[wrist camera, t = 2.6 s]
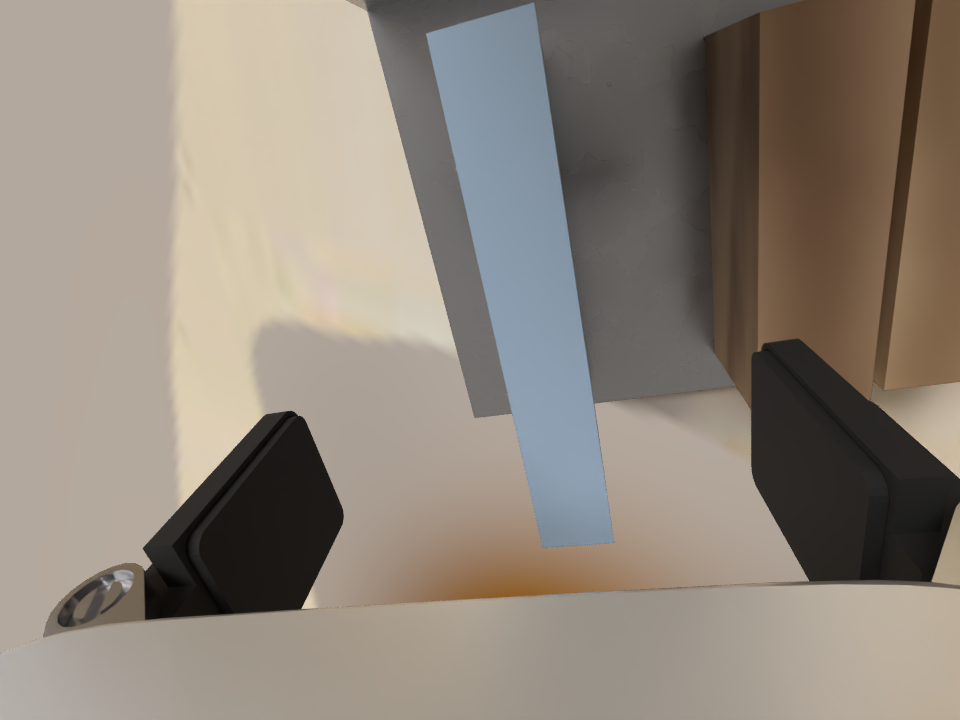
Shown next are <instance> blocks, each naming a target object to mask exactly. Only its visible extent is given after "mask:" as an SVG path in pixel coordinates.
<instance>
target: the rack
mask: <svg viewBox="0 0 960 720" xmlns="http://www.w3.org/2000/svg"><path fill="white" fill-rule="evenodd" d="M347 1H349V2H351V3H353V4H355V5H357V6H359V7H361V8H363V9H365V10H366V11H367V12H368V15H369V19H370V23H371V27H372V31H373V34H374V38H375V42H376V46H377V49H378V53H379V57H380V61H381V65H382V68H383V72H384V76H385V80H386V84H387V87H388V91H389V95H390V99H391V103H392V106H393V110H394V114H395V118H396V122H397V125H398V129H399V133H400V137H401V141H402V144H403V148H404V152H405V156H406V159H407V163H408V167H409V171H410V175H411V178H412V182H413V186H414V190H415V194H416V197H417V201H418V205H419V209H420V213H421V216H422V220H423V224H424V228H425V232H426V235H427V239H428V243H429V247H430V251H431V254H432V258H433V262H434V266H435V269H436V273H437V277H438V281H439V285H440V288H441V292H442V296H443V300H444V304H445V307H446V311H447V315H448V319H449V323H450V326H451V330H452V334H453V338H454V342H455V345H456V349H457V353H458V357H459V361H460V364H461V368H462V372H463V376H464V379H465V383H466V387H467V391H468V394H469V398H470V402H471V406H472V410H473V414H474V417H475V418H479V417H487V416H495V415H503V414H512V411H511V406H510V402H509V398H508V393H507V389H506V384H505V380H504V376H503V371H502V367H501V362H500V358H499V353H498V349H497V345H496V340H495V336H494V331H493V327H492V323H491V318H490V314H489V309H488V305H487V301H486V296H485V292H484V287H483V283H482V279H481V274H480V270H479V265H478V261H477V256H476V252H475V248H474V243H473V239H472V234H471V230H470V226H469V221H468V217H467V212H466V208H465V204H464V199H463V195H462V190H461V186H460V182H459V177H458V173H457V168H456V164H455V159H454V155H453V151H452V146H451V142H450V137H449V133H448V129H447V124H446V120H445V115H444V111H443V107H442V102H441V98H440V93H439V89H438V85H437V80H436V76H435V71H434V67H433V63H432V58H431V54H430V49H429V45H428V40H427V36H426V33H429V32H433V31H436V30H440V29H443V28H447V27H450V26H454V25H457V24H461V23H464V22H468V21H471V20H475V19H478V18H481V17H485V16H488V15H492V14H495V13H499V12H502V11H506V10H509V9H513V8H516V7H520V6H523V5H527V4H530V3H534V4H535V10H536V16H537V22H538V28H539V34H540V40H541V46H542V52H543V59H544V66H545V72H546V79H547V86H548V93H549V100H550V106H551V113H552V120H553V127H554V134H555V140H556V147H557V154H558V161H559V168H560V174H561V181H562V188H563V195H564V201H565V208H566V215H567V222H568V229H569V235H570V242H571V249H572V256H573V263H574V269H575V276H576V283H577V290H578V297H579V303H580V310H581V317H582V324H583V330H584V337H585V344H586V351H587V358H588V364H589V371H590V378H591V385H592V392H593V399H594V403H601V402H610V401H618V400H626V399H634V398H642V397H650V396H658V395H667V394H675V393H683V392H691V391H699V390H707V389H716V388H724V387H732V386H735V384H734V383H733V381H732V380H731V378H730V376H729V375H728V373H727V372H726V370H725V369H724V367H723V366H722V364H721V363H720V361H719V360H718V358H717V357H716V355H715V341H714V309H713V278H712V247H711V216H710V184H709V153H708V122H707V91H706V59H705V36H707V35H709V34H711V33H714V32H716V31H718V30H720V29H723V28H725V27H727V26H729V25H732V24H734V23H736V22H738V21H741V20H743V19H745V18H747V17H750V16H752V15H754V14H756V13H759V12H762V11H765V10H769V9H773V8H777V7H781V6H785V5H788V4H792V3H796V2H800V1H804V0H347Z"/></svg>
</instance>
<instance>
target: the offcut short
mask: <svg viewBox="0 0 960 720" xmlns="http://www.w3.org/2000/svg"><path fill="white" fill-rule="evenodd" d="M873 381H874V382H875V383H876V384H877V385H878V386H879V387H881V388H882V389H883V390H893V389H902V388H910V387H919V386H928V385H936V384H945V383H954V382H960V0H916V1H915V10H914V19H913V28H912V36H911V45H910V54H909V63H908V72H907V81H906V90H905V99H904V107H903V116H902V125H901V134H900V143H899V152H898V161H897V169H896V178H895V187H894V196H893V205H892V214H891V223H890V232H889V240H888V249H887V258H886V267H885V276H884V285H883V294H882V302H881V311H880V320H879V329H878V338H877V347H876V356H875V365H874V373H873Z"/></svg>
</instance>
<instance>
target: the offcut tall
mask: <svg viewBox="0 0 960 720" xmlns="http://www.w3.org/2000/svg"><path fill="white" fill-rule="evenodd" d="M915 1H916V0H804V1H800V2H796V3H792V4H788V5H785V6H781V7H777V8H773V9H769V10H765V11H762V12H759V13H756V14H754V15H752V16H750V17H747V18H745V19H743V20H741V21H738V22H736V23H734V24H732V25H729V26H727V27H725V28H723V29H720V30H718V31H716V32H714V33H711V34H709V35H707V36H705V59H706V91H707V122H708V153H709V184H710V216H711V247H712V278H713V309H714V341H715V355H716V357H717V358H718V360H719V361H720V363H721V364H722V366H723V367H724V369H725V370H726V372H727V373H728V375H729V376H730V378H731V380H732V381H733V383H734V384H735V386H736V387H737V389H738V390H739V392H740V393H741V395H742V396H743V398H744V399H745V401H746V402H747V404H748V405H749V407H750V409H751V358H752V354H753V353H754V352H759V351H761V348H762V345H763V344H764V343H769V342H776V341H783V340H790V339H797V338H798V339H800V340H802V341H803V342H804V343H805V344H806V345H807V346H808V347H809V348H811V349H812V350H813V351H814V352H815V353H816V354H817V355H818V356H819V357H821V358H822V359H823V360H824V361H825V362H826V363H827V364H828V365H830V366H831V367H832V368H833V369H834V370H835V371H836V372H837V373H838V374H840V375H841V376H842V377H843V378H844V379H845V380H846V381H847V382H848V383H850V384H851V385H852V386H853V387H854V388H855V389H856V390H857V391H859V392H860V393H861V394H862V395H863V396H864V397H865V398H866V399H867V400H869V401H870V400H871V391H872V382H873V373H874V365H875V356H876V347H877V338H878V329H879V320H880V311H881V302H882V294H883V285H884V276H885V267H886V258H887V249H888V240H889V232H890V223H891V214H892V205H893V196H894V187H895V178H896V169H897V161H898V152H899V143H900V134H901V125H902V116H903V107H904V99H905V90H906V81H907V72H908V63H909V54H910V45H911V36H912V28H913V19H914V10H915Z"/></svg>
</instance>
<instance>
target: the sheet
mask: <svg viewBox="0 0 960 720" xmlns="http://www.w3.org/2000/svg"><path fill="white" fill-rule="evenodd" d="M426 36H427V40H428V45H429V49H430V54H431V58H432V63H433V67H434V71H435V76H436V80H437V85H438V89H439V93H440V98H441V102H442V107H443V111H444V115H445V120H446V124H447V129H448V133H449V137H450V142H451V146H452V151H453V155H454V159H455V164H456V168H457V173H458V177H459V182H460V186H461V190H462V195H463V199H464V204H465V208H466V212H467V217H468V221H469V226H470V230H471V234H472V239H473V243H474V248H475V252H476V256H477V261H478V265H479V270H480V274H481V279H482V283H483V287H484V292H485V296H486V301H487V305H488V309H489V314H490V318H491V323H492V327H493V331H494V336H495V340H496V345H497V349H498V353H499V358H500V362H501V367H502V371H503V376H504V380H505V384H506V389H507V393H508V398H509V402H510V406H511V411H512V415H513V419H514V424H515V428H516V432H517V437H518V442H519V446H520V450H521V455H522V459H523V464H524V468H525V472H526V477H527V481H528V486H529V490H530V494H531V498H532V503H533V508H534V512H535V516H536V521H537V525H538V530H539V534H540V539H541V543H542V547H543V548H548V547H563V546H578V545H592V544H607V543H614V539H613V531H612V524H611V517H610V511H609V503H608V497H607V489H606V482H605V475H604V469H603V461H602V454H601V448H600V441H599V434H598V427H597V420H596V413H595V406H594V399H593V392H592V385H591V378H590V371H589V364H588V358H587V351H586V344H585V337H584V330H583V324H582V317H581V310H580V303H579V297H578V290H577V283H576V276H575V269H574V263H573V256H572V249H571V242H570V235H569V229H568V222H567V215H566V208H565V201H564V195H563V188H562V181H561V174H560V168H559V161H558V154H557V147H556V140H555V134H554V127H553V120H552V113H551V106H550V100H549V93H548V86H547V79H546V72H545V66H544V59H543V52H542V46H541V40H540V34H539V28H538V22H537V16H536V10H535V4H534V3H530V4H527V5H523V6H520V7H516V8H513V9H509V10H506V11H502V12H499V13H495V14H492V15H488V16H485V17H481V18H478V19H475V20H471V21H468V22H464V23H461V24H457V25H454V26H450V27H447V28H443V29H440V30H436V31H433V32H429V33H426Z"/></svg>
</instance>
